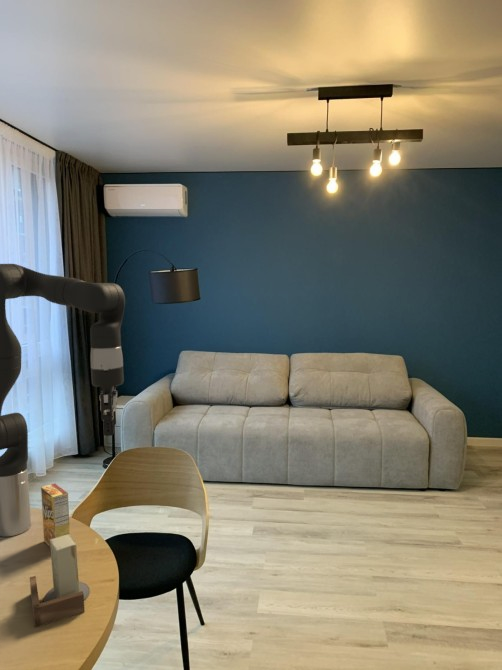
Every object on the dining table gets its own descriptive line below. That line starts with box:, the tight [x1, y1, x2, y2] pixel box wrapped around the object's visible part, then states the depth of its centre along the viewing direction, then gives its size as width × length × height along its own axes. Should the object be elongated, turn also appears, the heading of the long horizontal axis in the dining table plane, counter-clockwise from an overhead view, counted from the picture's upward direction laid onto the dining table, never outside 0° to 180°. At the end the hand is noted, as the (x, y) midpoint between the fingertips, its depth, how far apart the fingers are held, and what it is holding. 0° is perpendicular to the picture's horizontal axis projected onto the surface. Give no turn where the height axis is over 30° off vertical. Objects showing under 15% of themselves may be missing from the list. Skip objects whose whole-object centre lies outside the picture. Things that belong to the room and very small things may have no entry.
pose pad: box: [43, 581, 91, 602], centre depth 108 cm, size 10×10×1 cm
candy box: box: [40, 483, 71, 549], centre depth 129 cm, size 9×4×15 cm, turn 43°
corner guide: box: [29, 575, 85, 628], centre depth 106 cm, size 12×10×4 cm
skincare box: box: [50, 534, 80, 598], centre depth 108 cm, size 6×4×12 cm
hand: (110, 430), depth 120 cm, fingers open, 8 cm apart
